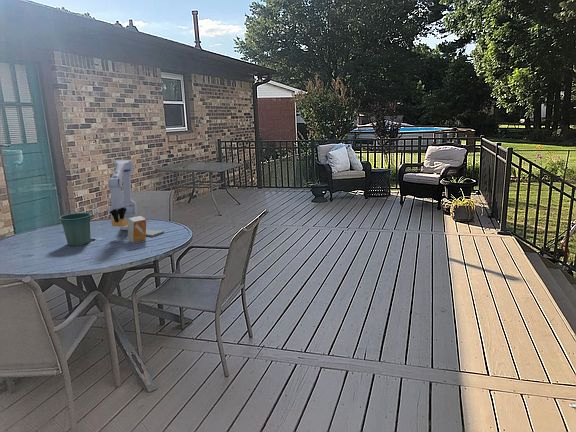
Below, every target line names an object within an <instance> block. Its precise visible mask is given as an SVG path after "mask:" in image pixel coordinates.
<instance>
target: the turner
mask: <svg viewBox="0 0 576 432" xmlns="http://www.w3.org/2000/svg"><path fill="white" fill-rule="evenodd" d="M110 221H111V227H120V228H128V225H127V219H120V218H119V222H115V220H114V218H112V219H111V220H110Z"/></svg>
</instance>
